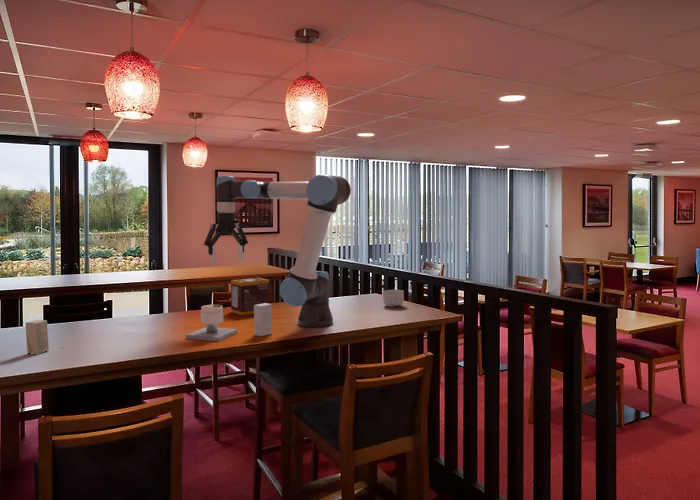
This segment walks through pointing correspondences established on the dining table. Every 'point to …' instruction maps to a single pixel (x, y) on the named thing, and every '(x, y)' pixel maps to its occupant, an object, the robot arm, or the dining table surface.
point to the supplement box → (248, 294)
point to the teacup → (393, 297)
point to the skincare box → (263, 319)
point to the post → (211, 328)
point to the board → (211, 334)
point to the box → (37, 336)
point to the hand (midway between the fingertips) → (226, 261)
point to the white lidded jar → (211, 314)
